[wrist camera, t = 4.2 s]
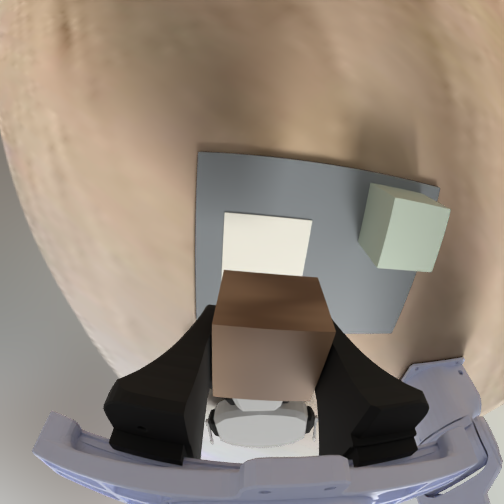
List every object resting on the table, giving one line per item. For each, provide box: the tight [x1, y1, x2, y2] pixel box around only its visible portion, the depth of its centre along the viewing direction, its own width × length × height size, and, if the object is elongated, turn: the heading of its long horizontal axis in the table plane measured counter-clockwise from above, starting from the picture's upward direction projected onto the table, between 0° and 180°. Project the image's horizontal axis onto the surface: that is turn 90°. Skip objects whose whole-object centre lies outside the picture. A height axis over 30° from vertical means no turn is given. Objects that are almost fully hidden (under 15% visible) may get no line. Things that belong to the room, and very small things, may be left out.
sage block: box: [358, 183, 451, 272], centre depth 17 cm, size 4×4×4 cm
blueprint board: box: [195, 152, 440, 334], centre depth 21 cm, size 18×14×1 cm
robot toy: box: [206, 380, 318, 448], centre depth 26 cm, size 12×4×15 cm
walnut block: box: [212, 270, 336, 401], centre depth 12 cm, size 4×4×4 cm
